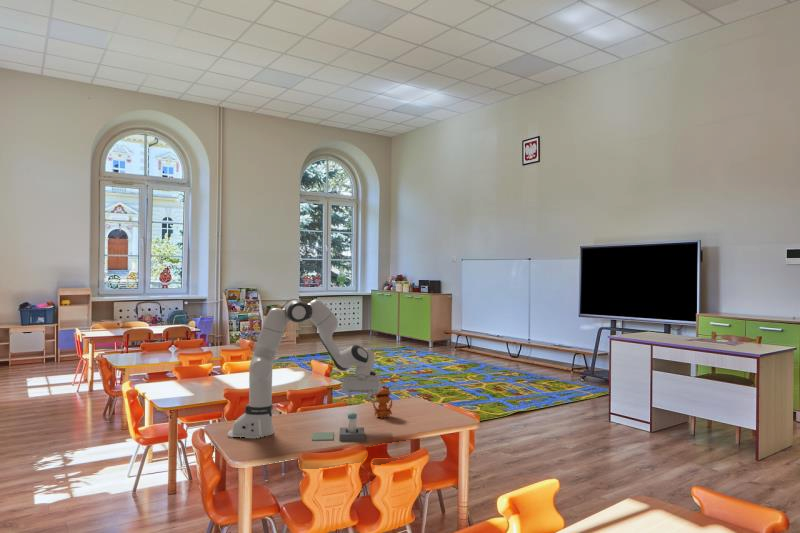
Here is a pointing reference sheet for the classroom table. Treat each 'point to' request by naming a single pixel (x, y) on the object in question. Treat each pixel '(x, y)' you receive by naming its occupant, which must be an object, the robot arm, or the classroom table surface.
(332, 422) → the classroom table surface
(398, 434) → the classroom table surface
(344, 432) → the grey square base
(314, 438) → the service mat
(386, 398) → the brown plush toy
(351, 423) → the filter cartridge
